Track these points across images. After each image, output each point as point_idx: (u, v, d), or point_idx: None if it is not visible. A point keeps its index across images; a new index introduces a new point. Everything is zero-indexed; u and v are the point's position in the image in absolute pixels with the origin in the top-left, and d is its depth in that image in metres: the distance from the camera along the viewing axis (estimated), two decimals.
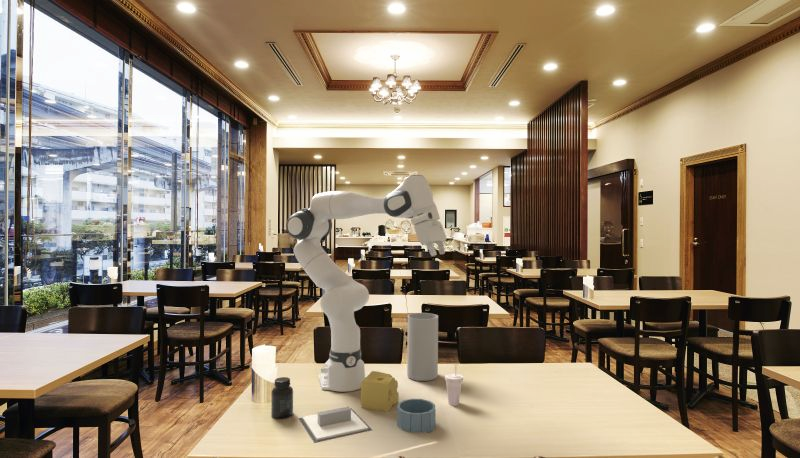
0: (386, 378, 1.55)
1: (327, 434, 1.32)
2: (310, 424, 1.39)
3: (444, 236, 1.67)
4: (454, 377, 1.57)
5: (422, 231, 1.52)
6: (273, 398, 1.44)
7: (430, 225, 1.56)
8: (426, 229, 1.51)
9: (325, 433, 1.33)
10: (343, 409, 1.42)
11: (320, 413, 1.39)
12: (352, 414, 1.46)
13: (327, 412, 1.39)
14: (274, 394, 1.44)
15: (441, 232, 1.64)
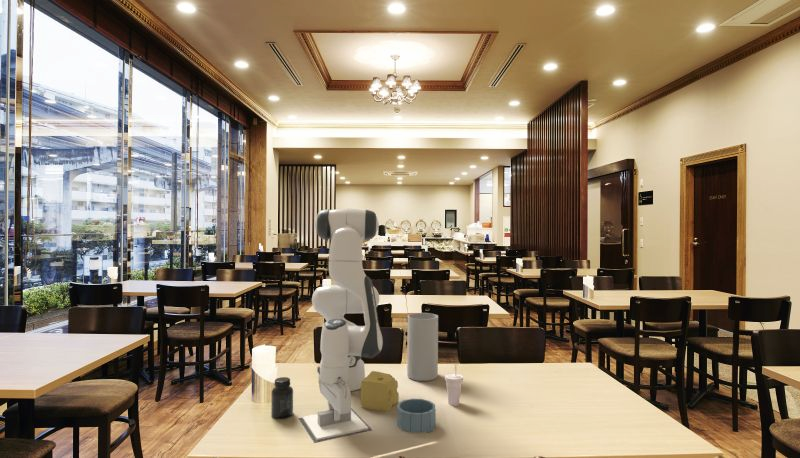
0: (386, 378, 1.55)
1: (327, 434, 1.32)
2: (310, 424, 1.39)
3: (337, 408, 1.33)
4: (454, 377, 1.57)
5: None
6: (273, 398, 1.44)
7: None
8: None
9: (325, 433, 1.33)
10: None
11: (320, 413, 1.39)
12: (352, 414, 1.46)
13: (327, 412, 1.39)
14: (274, 394, 1.44)
15: (334, 399, 1.35)
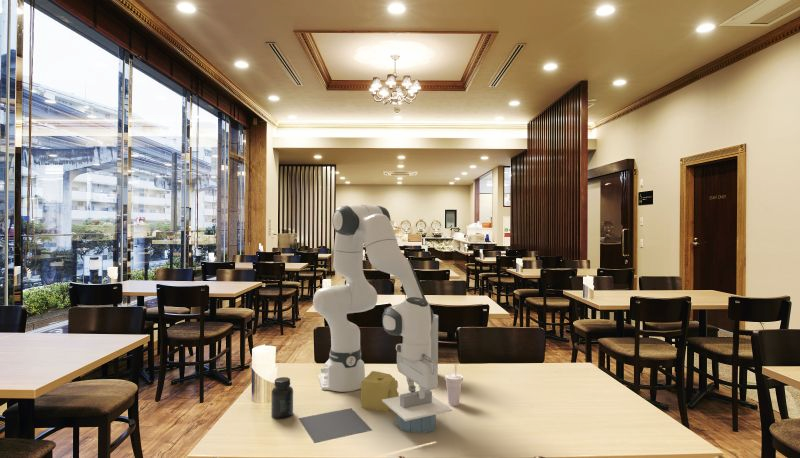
0: (386, 378, 1.55)
1: (414, 415, 1.33)
2: (393, 406, 1.39)
3: (423, 384, 1.33)
4: (454, 377, 1.57)
5: None
6: (273, 398, 1.44)
7: (404, 358, 1.44)
8: None
9: (411, 414, 1.33)
10: None
11: (403, 395, 1.39)
12: None
13: (409, 394, 1.40)
14: (274, 394, 1.44)
15: (419, 376, 1.36)
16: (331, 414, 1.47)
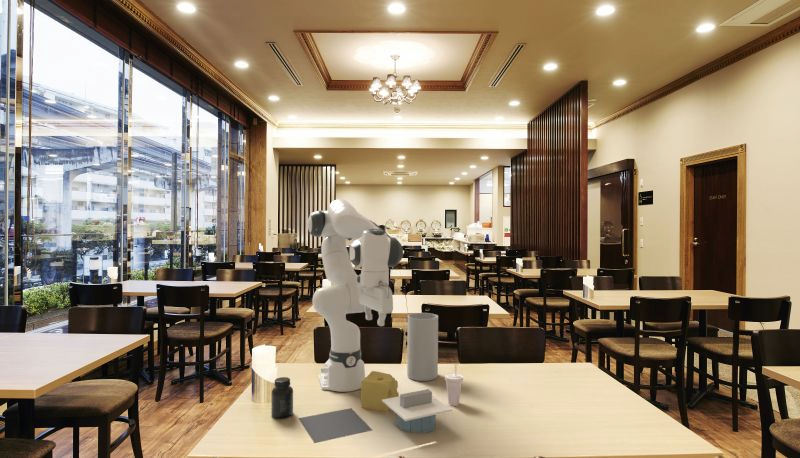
0: (386, 378, 1.55)
1: (414, 415, 1.33)
2: (393, 406, 1.39)
3: (379, 308, 1.37)
4: (454, 377, 1.57)
5: None
6: (273, 398, 1.44)
7: (364, 288, 1.48)
8: None
9: (411, 414, 1.33)
10: (424, 391, 1.42)
11: (403, 395, 1.39)
12: None
13: (409, 394, 1.40)
14: (274, 394, 1.44)
15: (375, 302, 1.40)
16: (331, 414, 1.47)
